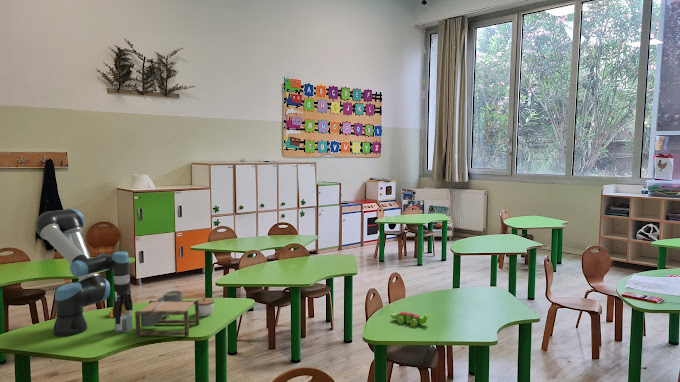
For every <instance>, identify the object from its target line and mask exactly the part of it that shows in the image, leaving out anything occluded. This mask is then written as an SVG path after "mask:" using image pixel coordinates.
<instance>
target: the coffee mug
mask: <svg viewBox="0 0 680 382" xmlns="http://www.w3.org/2000/svg"><path fill="white" fill-rule="evenodd" d="M182 293H183V292H182V290H181V291H180V290H169V291H165V292H164V293H163V296H160V297H159V298H157V300H156V301H183V294H182Z"/></svg>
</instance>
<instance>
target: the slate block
mask: <svg viewBox="0 0 680 382" xmlns="http://www.w3.org/2000/svg"><path fill="white" fill-rule="evenodd" d="M121 317H122V330H116V318H114V328H115V329H114V330H115V333H129V332H130V331H131V330H133V315H132V314H131V315H121Z"/></svg>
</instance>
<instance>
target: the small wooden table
mask: <svg viewBox="0 0 680 382" xmlns="http://www.w3.org/2000/svg"><path fill="white" fill-rule="evenodd" d="M162 301H163V300H162ZM193 305H195V304H194V302H164V301H163V302H151V303H150V304H147V305H146V306H145V307H144V308H142V309H141V310H140V311H189V309H190V308H191V307H192V306H193ZM164 318H165V317H164V315H140V327H154V326H155V325H156V323H157V322H159V321H160V320H163V319H164Z"/></svg>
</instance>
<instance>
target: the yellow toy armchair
mask: <svg viewBox="0 0 680 382" xmlns="http://www.w3.org/2000/svg"><path fill="white" fill-rule="evenodd" d="M112 304H113V305H112V308H111V309H110V310H109V313H108V314H109V316H108V319H114V318H113V309H114V299H112ZM125 311H127V310H126V309H125V306H124V304H123V306H122V312H121V315H125ZM130 311H131V315H132V313H133V310H130Z"/></svg>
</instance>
